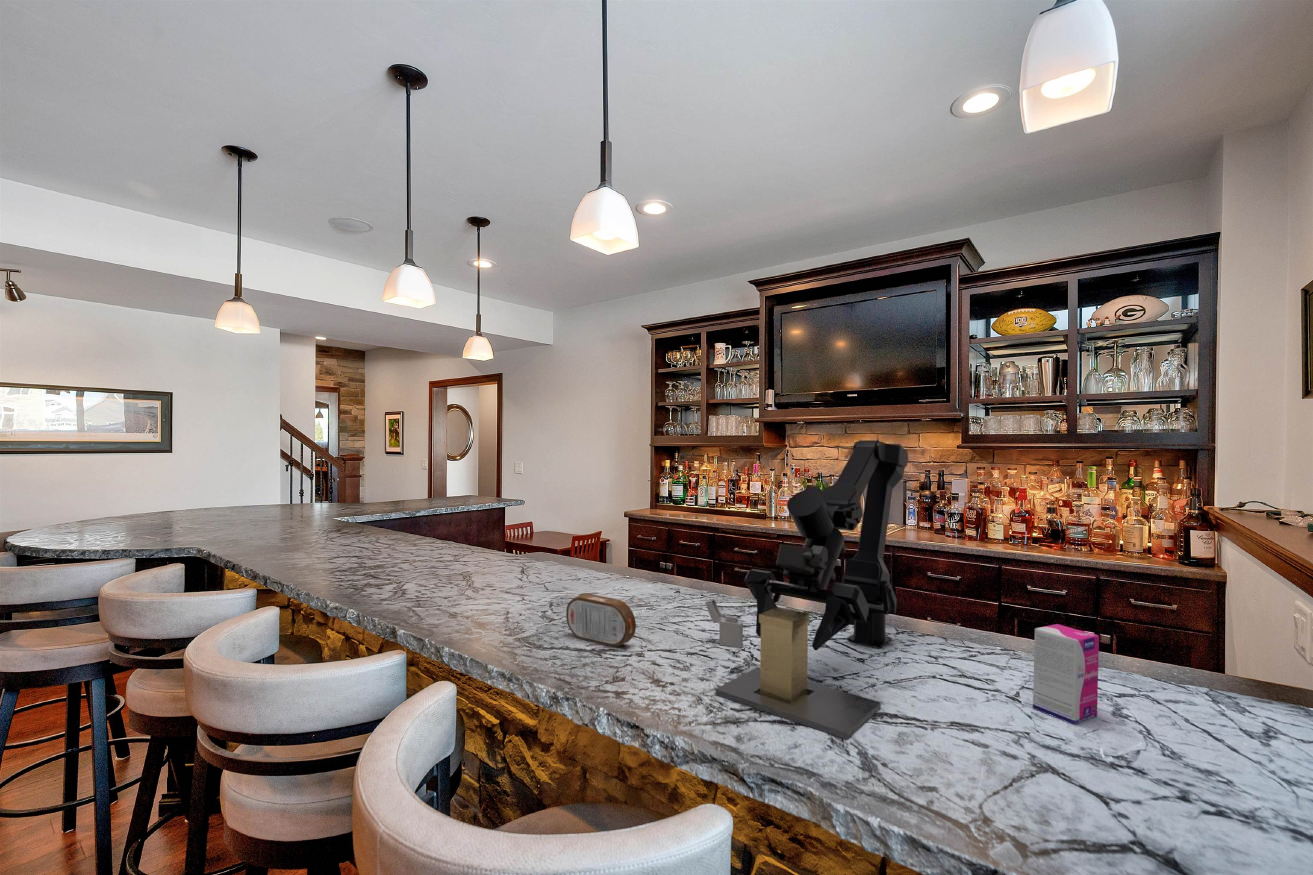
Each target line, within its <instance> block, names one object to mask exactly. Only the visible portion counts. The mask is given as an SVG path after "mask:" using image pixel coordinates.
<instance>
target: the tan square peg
mask: <svg viewBox="0 0 1313 875" xmlns="http://www.w3.org/2000/svg"><path fill="white" fill-rule="evenodd" d="M810 615H811V614H810V613H808V612H804V611H798V610H793V609H787V608H784V607H778V606H777V607H776V608H774V609H771V610H769V611H766V612H764V613H761V614H759V623H761V636H760V665H759V666H760V694H759V695H762V696H765V697H768V698H771V699H775V700H778V701H781V702H784V703H787V704H790V705H793V706H794V705H796V704H797V703H798V702H800V701H801V700H803V699H804V698H806V697H807V696H808V694H807V681H808V659H809V658H808V652H809V651H808V645H809V644H808V641H809V640H808V638H809V636H808V635H809V634H808V633H809V630H808V629H809V626H808V625H809V623H810V617H811V616H810Z"/></svg>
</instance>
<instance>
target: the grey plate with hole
mask: <svg viewBox="0 0 1313 875" xmlns="http://www.w3.org/2000/svg"><path fill="white" fill-rule="evenodd" d="M715 696H719V697H722V698H725V699H727V700H731V701H733V702H736V703H739V704H741V705H744V706H747V707H751V708H753V709H757V710H759V711H763V712H764V713H765V712H766V713H768V714H772V715H774V716H777V717H780V718H783V719H786V720H789V721H792V722H795V723H798V724H799V725H800V724H801V725H803V726H805V727H810V728H812V729H815V730H819V731H822V732H825V733H827V734H830V735H833V736H835V737H838V738H842V739H844V740H848V739H849V738H850V737H851V736H852V735H854V733H855V732H856V731H857V730H859V729H860V728H861V727H862V726H864V724H866V722H867V721H868V720H870V719H871V718H872V716H874V715H875V714H876V713H877V712H878V711H880V709H881V708H882V706H881V704H882V703H881V701H878V700H875V699H871V698H868V697H863V696H860V695H857V694H852V693H850V692H846V691H843V690H839V689H836V688H832V687H828V686H825V685H822V684H819V683H815V682H811V681H809V680H807V697H806V698H804V699H803V700H801V701H800V702H798V703H797V704H796V705H794V706H793V705H790V704H787V703H784V702H781V701H778V700H775V699H771V698H768V697H765V696H762V695H760V667H759V666H756V667H754V668H753V669H751V670H749V671H748V672H745V673H744V674H741V675H740V676H738V677H736V678H734V679H732V680H730V681H728V682H727V683H725V684H723V685H721V686H719V687H717V688H715Z"/></svg>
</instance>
